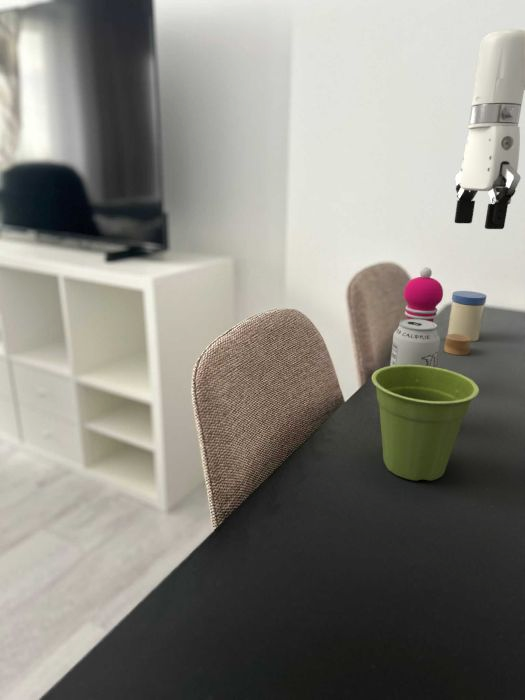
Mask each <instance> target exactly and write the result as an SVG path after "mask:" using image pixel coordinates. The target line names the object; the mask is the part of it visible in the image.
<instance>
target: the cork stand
mask: <svg viewBox="0 0 525 700" xmlns="http://www.w3.org/2000/svg"><path fill="white" fill-rule="evenodd" d="M471 343H472V341H471V338H470V337H468V336H465V335H461V334H448V335H447V334H446V335H445V340H444V347H443V352H446V353H448V354H449V355H455V356H466V355H469V354H470V349H471Z"/></svg>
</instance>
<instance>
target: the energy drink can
mask: <svg viewBox="0 0 525 700" xmlns="http://www.w3.org/2000/svg"><path fill="white" fill-rule="evenodd" d="M437 329H438V325H437V323H435V322H434V321H433V322H430V321H427V320H421V319H407V318H405V319H401V320H400V321H399V325H398V327H397V328H396V330H395V331H394V332H393V336H392V343H391V344H392V346H391V354H390V364H389V366H394V365H423V366H430V367H436V364H437V365H438V360H437V357H438V356H439V350H440V344H441V343H440V342H441V336H440V335H439V332H438V330H437ZM436 368H437V367H436Z"/></svg>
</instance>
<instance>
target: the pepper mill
mask: <svg viewBox="0 0 525 700" xmlns="http://www.w3.org/2000/svg"><path fill="white" fill-rule="evenodd" d="M432 273H433V272H432V269H431V268H430V267H427V266H426V267H423V268H421V269H420V271H419V275H420V276H418V277H414V278H412V279H411V280H409V281H408V282H407V284H406V285H405V287H404V291H403V297H404V300H405V302H406V303H407V305H406V306H405V311H404V315H405V316H406V319H421V320H427V321H430V322H433V323H434V320H435V319H436V318H437V317H438V315H437V312H438V311H439V310H438V308H437V306H438V305H439V304H440V303H441V302H442V301H443V297H444V288H443V286H442V284H441V283H440V281H438V280H437V279H435V278H432V277H431V276H432ZM437 361H438V357H437ZM436 368H438V363H437V364H436Z"/></svg>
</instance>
